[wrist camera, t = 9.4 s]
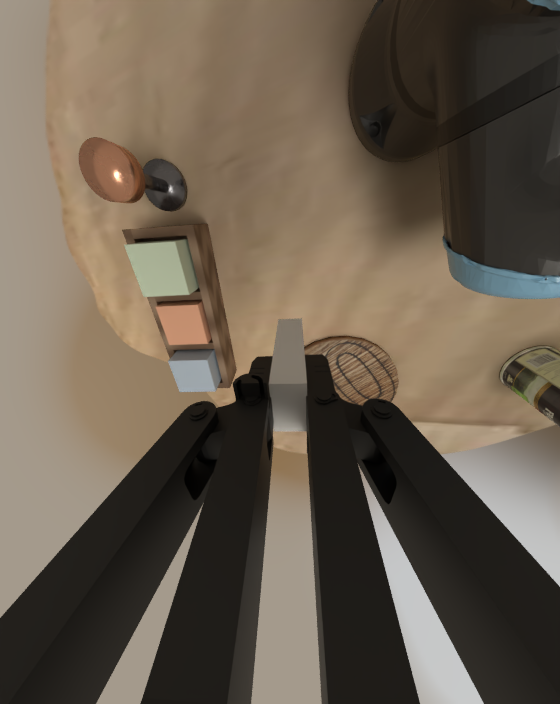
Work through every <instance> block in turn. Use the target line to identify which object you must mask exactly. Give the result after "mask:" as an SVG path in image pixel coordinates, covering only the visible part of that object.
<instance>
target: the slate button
mask: <svg viewBox="0 0 560 704" xmlns="http://www.w3.org/2000/svg"><path fill="white" fill-rule="evenodd" d="M168 362H169V365H170V367H171V370H172V373H173V375H174V378H175V381H176V383H177V386H178V388H179V391H180V392H208V391H216V390H217V387H218V385H219V383H220V381H221V374H220V370H219V365H218V361H217V357H216V353H215V349H189V350H177V351H176V353H175V354H174V355H173V356H172V357H171V358H170V359H169V361H168Z"/></svg>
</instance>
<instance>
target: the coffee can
mask: <svg viewBox="0 0 560 704" xmlns="http://www.w3.org/2000/svg"><path fill="white" fill-rule="evenodd" d="M500 380H501V382H502V383H503V384H504V385H506V386H508V387H509V388H510V389H511V390H513V391H514V392H515V393H517V394H518V395H519V396H521V397H522V398H523V399H524V400H526V401H527V402H528V403H530V404H531V405H532V406H534V407H535V408H536V409H537V410H539V411H540V412H541V413H542V414H544V415H545V416H546V417H548V418H549V419H550V420H552V421H553V422H554V423H555V424H557V425H558V426H559V427H560V352H559V351H558V350H556V349H555V348H552V347H549V346H536V347H532V348H529V349H526V350H523V351H521V352H519V353H518V354H516V355H514V356H513V357H511V358H510V359H509V360H508V361H507V362H506V363H505V364H504V366H503V367H502V369H501V372H500Z"/></svg>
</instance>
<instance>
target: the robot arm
mask: <svg viewBox="0 0 560 704" xmlns="http://www.w3.org/2000/svg"><path fill="white" fill-rule="evenodd" d="M349 107H350V114H351V119H352V123H353V126H354V129H355V131H356V133H357V135H358V137H359V139H360V141H361V142H362V144H363V145H364V146H365V147H366V149H367V150H368V151H369V152H371V153H372V154H373V155H375V156H376V157H378V158H380V159H383V160H386V161H391V162H404V161H409V160H413V159H416V158H418V157H420V156H422V155H424V154H426V153H428V152H430V151H432V150H434V149H436V148H437V147H439V148H438V155H439V167H440V181H441V196H442V210H443V224H444V236H443V245H444V247H445V249H446V250H447V257H448V264H449V270H450V273H451V275H452V276H453V278H454V279H455V280H457V281H458V282H460V283H461V284H462V286H464V287H466V288H468V289H470V290H473V291H475V292H478V293H482V294H486V295H491V296H497V297H504V298H516V299H547V298H559V297H560V0H377V2H376V4H375V6H374V7H373V9H372V11H371V13H370V15H369V17H368V20H367V22H366V24H365V27H364V29H363V32H362V34H361V37H360V40H359V42H358V45H357V48H356V51H355V55H354V58H353V63H352V67H351V73H350V81H349ZM233 387H234V392H235V396H236V402H234V403H232V404H229V405H226V406H222V407H218V408H216V407H215V405H214V404H213V403H211V402H208V401H201V402H197V403H195V404H192V405H190V406H189V407H188V408H186V409H185V410H184V411H183V413H181V415H180V416H179V417H178V418H177V419H176V420H175V421H174V423H173V424H172V425H171V426H170V427H169V428H168V429H167V430H166V432H165V433H164V434H163V435H162V436H161V437H160V438H159V439H158V441H157V442H156V443H155V444H154V445H153V446H152V447H151V449H150V450H149V451H148V452H147V453H146V454H145V455H144V456H143V458H142V459H141V460H140V461H139V462H138V463H137V464H136V465H135V467H134V468H133V469H132V470H131V471H130V472H129V473H128V474H127V476H126V477H125V478H124V479H123V480H122V481H121V482H120V484H119V485H118V486H117V487H116V488H115V489H114V490H113V491H112V493H111V494H110V495H109V496H108V497H107V498H106V499H105V500H104V502H103V503H102V504H101V505H100V506H99V507H98V508H97V510H96V511H95V512H94V513H93V514H92V515H91V516H90V517H89V518H88V520H87V521H86V522H85V523H84V524H83V525H82V526H81V528H80V529H79V530H78V531H77V532H76V533H75V534H74V535H73V537H72V538H71V539H70V540H69V541H68V542H67V543H66V544H65V546H64V547H63V548H62V549H61V550H60V551H59V553H57V555H56V556H55V557H54V558H53V559H52V560H51V562H50V563H49V564H48V565H47V566H46V567H45V568H44V570H42V572H41V573H40V574H39V575H38V576H37V577H36V578H35V580H34V581H33V582H32V583H31V584H30V585H29V586H28V587H27V589H26V590H25V591H24V592H23V593H22V594H21V595H20V596H19V598H18V599H17V600H16V601H15V602H14V603H13V604H12V605H11V607H10V608H9V609H8V610H7V611H6V612H5V613H4V615H3V616H2V617H1V618H0V704H96V702H97V700H98V699H99V697H100V695H101V693H102V691H103V689H104V687H105V686H106V684H107V682H108V680H109V678H110V676H111V674H112V673H113V671H114V669H115V667H116V665H117V663H118V661H119V659H120V658H121V656H122V654H123V652H124V650H125V648H126V646H127V645H128V643H129V641H130V639H131V637H132V635H133V633H134V631H135V630H136V628H137V626H138V624H139V622H140V620H141V618H142V616H143V615H144V613H145V611H146V609H147V607H148V605H149V603H150V602H151V600H152V598H153V596H154V594H155V592H156V590H157V588H158V587H159V585H160V583H161V581H162V579H163V577H164V575H165V574H166V572H167V570H168V568H169V566H170V564H171V562H172V560H173V559H174V557H175V555H176V553H177V551H178V549H179V547H180V546H181V544H182V542H183V540H184V538H185V536H186V534H187V532H188V530H189V529H190V527H191V525H192V523H193V521H194V519H195V517H196V515H197V514H198V512H199V510H200V508H201V506H202V504H203V503H204V504H203V507H202V510H201V513H200V516H199V520H198V523H197V526H196V529H195V532H194V536H193V539H192V542H191V545H190V549H189V552H188V555H187V558H186V561H185V564H184V567H183V571H182V574H181V577H180V580H179V583H178V586H177V590H176V593H175V596H174V599H173V602H172V606H171V609H170V612H169V615H168V618H167V621H166V625H165V628H164V631H163V635H162V638H161V641H160V644H159V647H158V650H157V654H156V657H155V660H154V663H153V666H152V669H151V673H150V676H149V679H148V682H147V686H146V688H145V692H144V695H143V698H142V701H141V704H251V697H252V685H253V674H254V662H255V650H256V639H257V627H258V616H259V603H260V593H261V580H262V570H263V557H264V545H265V535H266V523H267V512H268V500H269V489H270V476H271V466H272V454H273V453H272V452H273V427H274V431H307V453H308V468H309V485H310V502H311V503H310V504H311V522H312V538H313V539H312V540H313V557H314V575H315V592H316V610H317V627H318V645H319V662H320V680H321V697H322V704H420V702H419V698H418V694H417V690H416V687H415V683H414V679H413V675H412V671H411V668H410V663H409V660H408V656H407V652H406V648H405V644H404V640H403V636H402V633H401V629H400V625H399V621H398V617H397V613H396V610H395V606H394V602H393V598H392V594H391V590H390V586H389V582H388V579H387V575H386V571H385V567H384V563H383V559H382V556H381V552H380V548H379V544H378V540H377V536H376V532H375V529H374V525H373V521H372V517H371V513H370V509H369V505H368V501H367V498H366V494H365V490H364V486H363V482H362V479H361V474H360V470H359V467H358V464H359V466H360V468H361V470H362V472H363V474H364V476H365V478H366V480H367V481H368V483H369V485H370V487H371V489H372V491H373V493H374V495H375V497H376V499H377V501H378V502H379V504H380V506H381V508H382V510H383V512H384V514H385V516H386V518H387V520H388V521H389V523H390V525H391V527H392V529H393V531H394V533H395V535H396V537H397V539H398V540H399V543H400V544H401V546H402V548H403V550H404V552H405V554H406V556H407V558H408V560H409V562H410V563H411V565H412V567H413V569H414V571H415V573H416V575H417V577H418V579H419V580H420V582H421V584H422V586H423V588H424V590H425V592H426V594H427V596H428V598H429V600H430V602H431V603H432V605H433V607H434V609H435V611H436V613H437V615H438V617H439V619H440V621H441V622H442V624H443V626H444V628H445V630H446V632H447V634H448V636H449V638H450V640H451V641H452V643H453V645H454V647H455V649H456V651H457V653H458V655H459V656H460V658H461V660H462V662H463V664H464V666H465V668H466V670H467V672H468V674H469V676H470V678H471V680H472V682H473V683H474V685H475V687H476V689H477V691H478V693H479V695H480V697H481V699H482V701H483V702H484V704H560V587H559V585H558V584H557V583H556V582H555V581H554V580H553V579H552V578H551V577H550V575H548V573H547V572H546V571H545V570H544V569H543V568H542V567H541V566H540V564H539V563H538V562H537V561H536V560H535V559H534V558H533V557H532V555H531V554H530V553H529V552H528V551H527V550H526V549H525V548H524V547H523V546H522V545H521V543H520V542H519V541H518V540H517V539H516V538H515V537H514V536H513V535H512V533H511V532H510V531H509V530H508V529H507V528H506V527H505V526H504V524H503V523H502V522H501V521H500V520H499V519H498V518H497V517H496V516H495V514H494V513H493V512H492V511H491V510H490V509H489V508H488V507H487V506H486V505H485V503H483V501H482V500H481V499H480V498H479V497H478V496H477V495H476V494H475V492H474V491H473V490H472V489H471V488H470V487H469V486H468V485H467V483H466V482H465V481H464V480H463V479H462V478H461V477H460V476H459V475H458V474H457V472H456V471H455V470H454V469H453V468H452V467H451V466H450V465H449V463H448V462H447V461H446V460H445V459H444V458H443V457H442V456H441V455H440V454H439V452H438V451H437V450H436V449H435V448H434V447H433V446H432V445H431V444H430V442H429V441H428V440H427V439H426V438H425V437H424V436H423V435H422V434H421V432H420V431H419V430H418V429H417V428H416V427H415V426H414V425H413V424H412V422H411V421H410V420H409V419H408V418H407V417H406V416H405V415H404V414H403V413H402V411H401V410H400V409H399V408H398V407H397V406H395V405H394V404H393V403H391V402H389V401H387V400H383V399H370V400H367V401H366V402H365V403H364V404H363V406H362V405H357V404H353V403H350V402H347V401H345V400H343V399H342V398H340V396H339V394H338V393H337V392H336V391H335V387H334V383H333V378H332V374H331V370H330V367H329V362H328V359H327V358H326V357H325V356H324V355H323V354H316V355H305V352H304V340H303V328H302V318H301V319H278V325H277V332H276V339H275V345H274V352H273V356H265V357H257V358H256V359H255V360H254V361H253V362H252V364H251V368H250V371H249V374H244V375H242V376H240V377H238V378H237V379H235V381H234V382H233Z"/></svg>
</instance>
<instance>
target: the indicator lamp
mask: <svg viewBox="0 0 560 704" xmlns="http://www.w3.org/2000/svg"><path fill="white" fill-rule="evenodd" d="M79 164H80V168H81V171H82V174H83V176H84V178H85V180H86V182H87V183H88V185H89V186H90V187H91V189H92V190H93V191H94V192H95V193H96V194H97V195H99V196H100V197H102V198H103V199H105V200H108V201H112V202H121V203H134V202H137V201H138V200H140V199H141V197H142V196H143V194H144V191H145V193H146V195H147V197H148V198H149V200H150V201H151V202H152V203H153V204H154V205H155V206H156V207H158V208H159V209H162V210H165V211H176V210H178V209H180V208H181V207H182V206H183V205H184V203H185V201H186V198H187V186H186V182H185V179H184V177H183V175H182V174H181V172H180V171H179V170H178V168H177V167H175V166H174V165H173V164H171V163H169V162H167V161H165V160H162V159H153V160H151V161H149V162H148V163H147V164H146V165H145V167H144V169H143V170H142V168H141V166H140V164H139V162H138V161H137V159H136V158H135V157H134V155H133V154H132V153H131V152H129V151H128V150H127V149H125V148H123V147H121V146H119V145H117V144H114V143H112V142H110V141H107V140H105V139H102V138H97V137H93V138H89V139H87V140H86V141H85V142H84V143H83V144H82V146H81V148H80V152H79Z"/></svg>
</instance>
